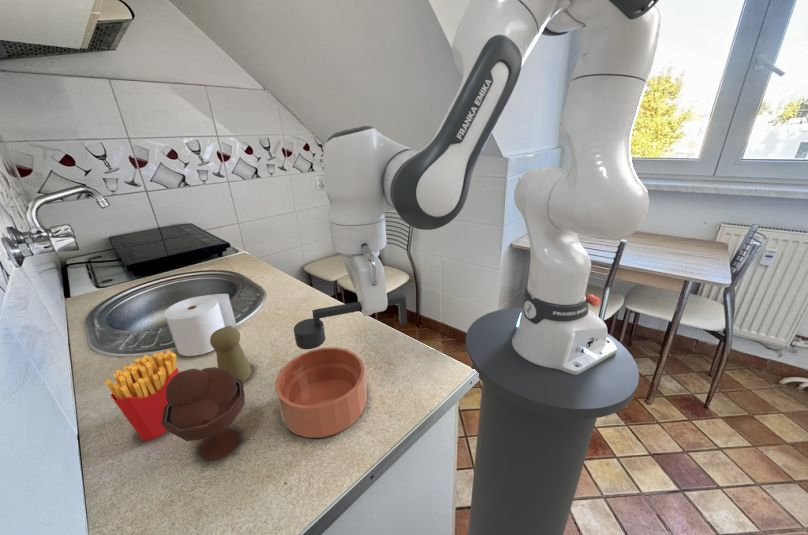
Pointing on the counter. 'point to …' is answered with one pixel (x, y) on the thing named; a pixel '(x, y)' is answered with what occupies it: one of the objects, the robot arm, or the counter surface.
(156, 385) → the french fries
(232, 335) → the cork
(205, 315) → the toilet tissue
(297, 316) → the counter surface
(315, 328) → the ladle
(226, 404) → the ice cream bowl
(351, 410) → the bowl
